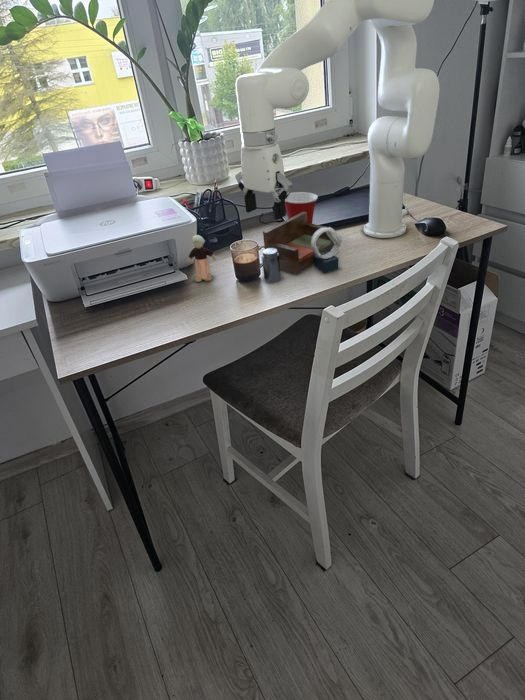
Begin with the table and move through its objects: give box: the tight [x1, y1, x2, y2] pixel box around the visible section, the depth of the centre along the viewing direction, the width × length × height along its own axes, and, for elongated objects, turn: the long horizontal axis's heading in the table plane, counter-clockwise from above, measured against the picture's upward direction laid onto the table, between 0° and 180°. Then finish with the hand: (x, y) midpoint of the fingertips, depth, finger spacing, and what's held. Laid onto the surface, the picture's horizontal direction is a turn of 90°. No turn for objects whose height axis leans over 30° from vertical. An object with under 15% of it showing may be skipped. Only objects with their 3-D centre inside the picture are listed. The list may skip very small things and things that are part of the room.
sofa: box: [262, 212, 335, 276], centre depth 128 cm, size 17×11×10 cm, turn 136°
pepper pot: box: [261, 248, 282, 284], centre depth 121 cm, size 4×4×8 cm
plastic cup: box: [285, 191, 319, 224], centre depth 143 cm, size 11×11×12 cm
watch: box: [311, 226, 343, 274], centre depth 122 cm, size 6×8×11 cm
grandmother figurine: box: [187, 234, 217, 283], centre depth 123 cm, size 8×4×13 cm, turn 99°
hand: (265, 214), depth 112 cm, fingers open, 9 cm apart
